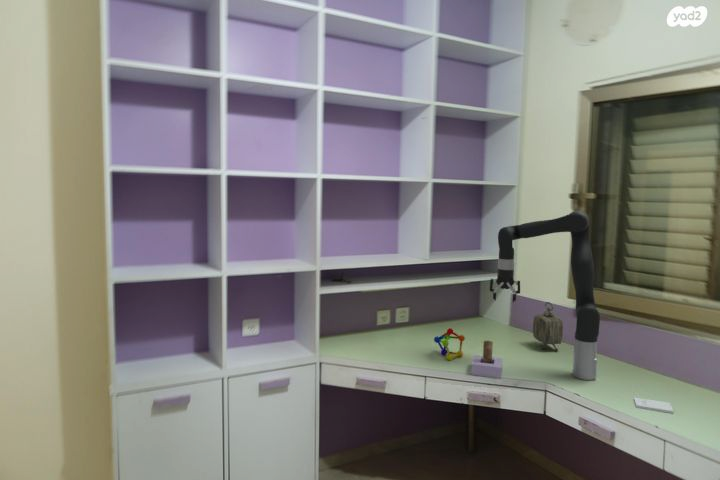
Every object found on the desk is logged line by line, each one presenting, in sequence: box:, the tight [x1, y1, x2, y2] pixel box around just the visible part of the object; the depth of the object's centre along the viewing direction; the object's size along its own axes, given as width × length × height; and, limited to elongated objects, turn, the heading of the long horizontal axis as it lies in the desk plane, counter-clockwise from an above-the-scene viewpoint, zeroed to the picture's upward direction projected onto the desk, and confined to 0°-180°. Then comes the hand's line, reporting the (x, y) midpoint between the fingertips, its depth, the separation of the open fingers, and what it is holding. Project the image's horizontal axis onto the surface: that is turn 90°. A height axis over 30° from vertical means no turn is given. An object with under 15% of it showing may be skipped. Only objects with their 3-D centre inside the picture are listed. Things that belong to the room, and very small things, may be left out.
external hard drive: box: [633, 397, 675, 415], centre depth 189 cm, size 2×8×12 cm
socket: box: [470, 354, 503, 379], centre depth 223 cm, size 13×13×5 cm
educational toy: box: [433, 327, 466, 361], centre depth 242 cm, size 16×13×15 cm
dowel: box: [482, 340, 494, 364], centre depth 222 cm, size 4×4×14 cm
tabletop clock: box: [532, 301, 564, 352], centre depth 256 cm, size 14×9×25 cm, turn 9°
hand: (504, 300), depth 234 cm, fingers open, 8 cm apart
